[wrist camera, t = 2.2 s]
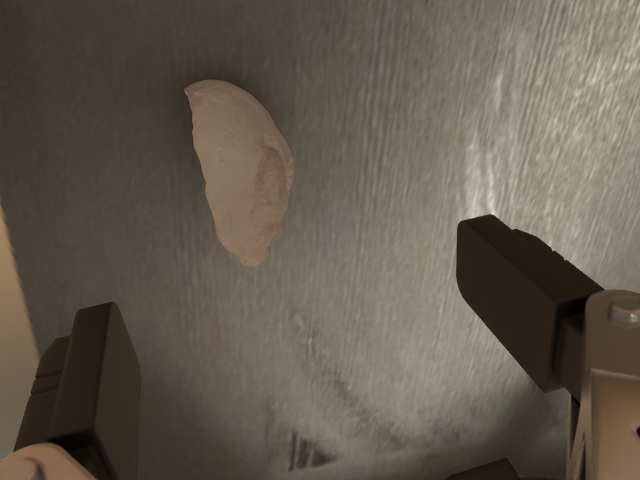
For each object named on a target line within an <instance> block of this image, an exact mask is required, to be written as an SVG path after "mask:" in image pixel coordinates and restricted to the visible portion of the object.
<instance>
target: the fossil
mask: <svg viewBox="0 0 640 480" xmlns="http://www.w3.org/2000/svg"><path fill="white" fill-rule="evenodd" d="M184 91H185V93H186V95H187V96H188V97H189V102H190V107H191V110H192V114H193V117H192V122H193V130H192V135H193V139H194V148H195V150H196V152H197V155H198V157H199V160H200V162H201V167H202V172H203V175H204V178H205V180H206V182H207V184H206V187H205V196H206V198H207V200H208V203H209V206H210V209H211V212H212V214H213V217H214V224H215V230H216V234H217V237H218V239H219V240H220V242H221V243H222V245H223V246H224V247H225V248H226V249H227V250H228V251H229V252H231V253H233V254H235V255H236V257H237V259H238V261H240V262H241V263H242V264H243V265H245V266H247V267H255V266H257V265H259V264H261V263H262V262H263V261H264V260H265V258H266V257H267V256H268V255H269V253H270V248H269V244H270V242H271V239H272V238H273V237H274V236H275V235H276V234H277V233H278V226H279V221H280V218H281V217H283V216H284V214H285V211H286V209H287V206H288V200H289V196H288V193H289V190H290V186H291V185H292V182H293V177H294V168H295V162H294V159H293V156H292V153H291V151H290V149H289V147H288V145H287V143H286V141H285V140H284V138H283V136H282V135H281V133H280V132H279V130H278V129H277V127H276V125H275V123H274V121H273V119H272V118H271V116H270V114H269V113H268V111H267V110H266V109H265V108H264V107H263V106H262V105H261V104H260V103H259V102H258V100H257V99H256V98H255V97H253V96H252V95H251V94H249V93H248V92H246V91H245V90H243V89H241V88H239V87H238V86H235V85H233V84H231V83H229V82H226V81H223V80H211V79H209V80H202V81H199V82H196V83H193V84H191V85H190V86H188V87H187V88H186V89H184Z"/></svg>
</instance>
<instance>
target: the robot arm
mask: <svg viewBox="0 0 640 480" xmlns="http://www.w3.org/2000/svg"><path fill="white" fill-rule="evenodd" d="M456 278H457V284H458V287H459V290H460V293H461V295H462V297H463V298H464V300H465V301H466V302H467V303H468V305H469V306H470V307H471V308H472V309H473V310H474V312H475V313H476V314H477V315H478V316H479V317H480V319H481V320H482V321H483V322H484V323H485V324H486V326H487V327H488V328H489V329H490V330H491V332H492V333H493V334H494V335H495V336H496V337H497V339H498V340H499V341H500V342H501V343H502V344H503V346H504V347H505V348H506V349H507V350H508V351H509V353H510V354H511V355H512V356H513V357H514V358H515V360H516V361H517V362H518V363H519V364H520V365H521V367H522V368H523V369H524V370H525V371H526V373H527V374H528V375H529V376H530V377H531V378H532V380H533V381H534V382H535V383H536V384H537V385H538V387H539V388H540V389H541V390H542V391H543V392H544V393H547V392H550V391H553V390H557V389H560V388H563V387H565V388H566V389H567V390H568V391H569V392H570V399H569V405H568V434H567V464H566V480H640V294H639V293H635V292H631V291H626V290H605V289H603V288H602V287H601V286H599V285H598V284H597V283H596V282H594V281H593V280H592V279H590V278H589V277H588V276H587V275H585V274H584V273H583V272H581V271H580V270H579V269H578V268H576V267H575V266H574V265H572V264H571V263H570V262H569V261H567V260H564V258H563V257H562V256H561V255H560V254H558V253H557V252H556V251H552V248H551V247H549V246H548V245H547V244H545V243H544V242H543V241H542V240H540V239H539V238H538V237H536V236H533V235H531V234H528V233H526V232H523V231H521V230H518V229H514V230H511V229H510V228H509V227H508V226H506V225H505V224H504V223H503V222H502V221H500V220H499V219H498V218H497V217H495V216H494V215H492V214H489V215H484V216H480V217H476V218H472V219H467V220H463V221H461V222H460V223H459V224H458V228H457V263H456ZM140 398H141V373H140V367H139V363H138V359H137V356H136V353H135V350H134V347H133V345H132V342H131V340H130V337H129V334H128V332H127V329H126V326H125V324H124V321H123V319H122V316H121V313H120V311H119V308H118V306H117V305H116V303H115V302H109V303H105V304H101V305H96V306H92V307H88V308H84V309H79V310H77V312H76V315H75V320H74V324H73V328H72V333H71V335H70V336H66V337H62V338H58V339H56V340H55V341H54V342H53V343H52V345H51V346H50V347H49V348H48V350H47V351H46V352H45V353H44V354H43V356H42V357H41V359H40V362H39V366H38V369H37V373H36V380H34V383H33V387H32V390H31V396H30V397H29V400H28V403H27V407H26V410H25V414H24V417H23V420H22V424H21V427H20V431H19V434H18V437H17V441H16V444H15V447H14V451H13V453H11V454H10V455H9V456H7V457H5V458H4V459H3V460H1V461H0V480H137V461H138V440H139V419H140ZM445 480H557V479H553V478H547V477H541V476H529V475H518V474H517V473H516V471H515V470H514V468H513V467H512V465H511V464H510V462H509V461H508V459H507V458H504V459H501V460H498V461H494V462H491V463H488V464H485V465H482V466H479V467H476V468H472V469H469V470H466V471H463V472H460V473H457V474H453V475H452V476H450V477H448V478H447V479H445Z"/></svg>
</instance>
